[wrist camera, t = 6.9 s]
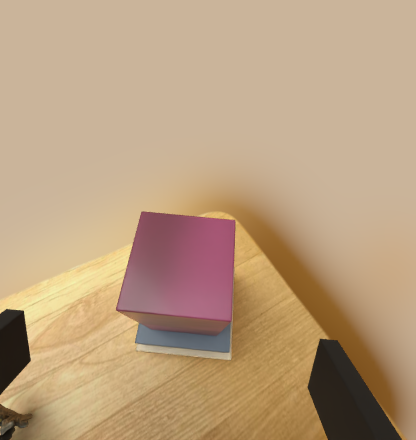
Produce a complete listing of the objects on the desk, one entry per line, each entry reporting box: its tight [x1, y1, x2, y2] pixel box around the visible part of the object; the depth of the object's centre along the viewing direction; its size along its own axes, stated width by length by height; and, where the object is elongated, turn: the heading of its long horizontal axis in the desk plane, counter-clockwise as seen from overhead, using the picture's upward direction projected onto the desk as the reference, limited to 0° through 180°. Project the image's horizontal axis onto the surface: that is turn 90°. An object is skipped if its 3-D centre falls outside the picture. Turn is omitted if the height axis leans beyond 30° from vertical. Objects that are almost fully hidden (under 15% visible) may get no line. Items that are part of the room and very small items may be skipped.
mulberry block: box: [116, 212, 235, 336], centre depth 15 cm, size 5×5×9 cm
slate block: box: [135, 323, 231, 353], centre depth 21 cm, size 7×7×3 cm
